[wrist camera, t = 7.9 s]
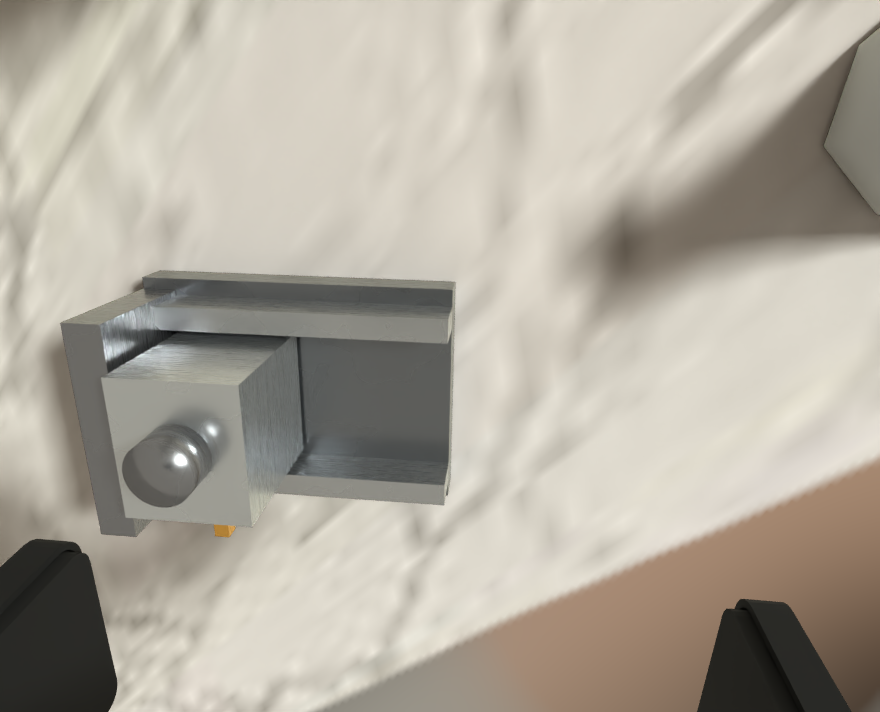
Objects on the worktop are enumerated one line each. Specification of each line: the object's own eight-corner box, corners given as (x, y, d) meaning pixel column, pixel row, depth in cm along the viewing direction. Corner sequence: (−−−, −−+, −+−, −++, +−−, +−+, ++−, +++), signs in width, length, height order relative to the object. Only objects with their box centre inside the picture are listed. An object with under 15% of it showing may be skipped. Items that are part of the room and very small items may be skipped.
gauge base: (455, 282, 22) (439, 326, 17) (450, 479, 25) (435, 571, 19) (160, 270, 23) (57, 309, 18) (185, 461, 26) (103, 544, 20)
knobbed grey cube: (296, 332, 22) (219, 402, 16) (306, 492, 24) (241, 606, 18) (186, 327, 22) (72, 394, 16) (206, 485, 24) (112, 595, 18)
